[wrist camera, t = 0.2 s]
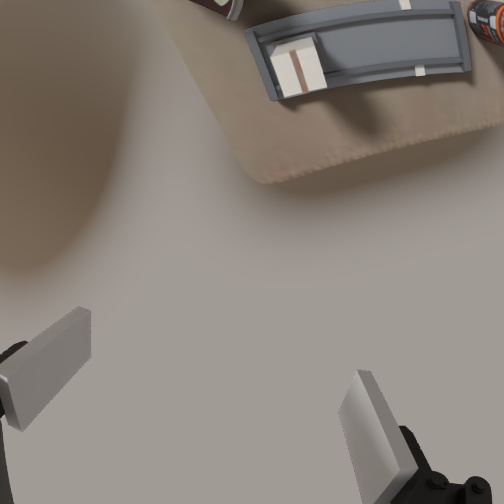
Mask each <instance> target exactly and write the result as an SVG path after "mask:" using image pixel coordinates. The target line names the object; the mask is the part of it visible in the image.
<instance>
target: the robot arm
mask: <svg viewBox="0 0 504 504" xmlns="http://www.w3.org/2000/svg"><path fill="white" fill-rule="evenodd" d="M90 358H91V311H90V310H88V309H85V308H82V307H79V306H78V307H77V308H75V309H74V310H72V311H71V312H70V313H68V314H67V315H66V316H64V317H63V318H61V319H60V320H59V321H57V322H56V323H54V324H53V325H51V326H50V327H49V328H47V329H46V330H45V331H43V332H42V333H41V334H39V335H38V336H37V337H35V338H34V339H32V340H31V341H30V342H27V341H22V342H19V343H16V344H14V345H12V346H11V347H10V348H8V350H6V351H4V352H3V353H2V355H1V354H0V418H1V417H2V416H3V415H4V414H5V416H6V419H7V422H8V424H9V425H10V426H12V427H13V428H15V429H17V430H18V431H20V432H23V431H24V430H25V429H26V428H27V426H28V425H29V424H30V423H31V422H32V421H33V420H34V419H35V417H36V416H37V415H38V414H39V413H40V412H41V411H42V410H43V408H44V407H45V406H46V405H47V404H48V403H49V402H50V401H51V400H52V399H53V397H54V396H55V395H56V394H57V393H58V392H59V391H60V390H61V389H62V388H63V386H64V385H65V384H66V383H67V382H68V381H69V380H70V379H71V378H72V377H73V376H74V375H75V374H76V373H77V371H78V370H79V369H80V368H81V367H82V366H83V365H84V364H85V363H86V362H87V361H88V360H89V359H90ZM338 414H339V418H340V421H341V425H342V428H343V432H344V435H345V439H346V442H347V446H348V450H349V453H350V457H351V461H352V464H353V468H354V472H355V476H356V479H357V483H358V486H359V491H360V495H361V499H362V502H363V504H492V494H491V487H490V485H489V483H488V482H487V481H486V480H485V479H483V478H481V477H478V476H473V477H470V478H469V479H468V480H467V481H466V482H465V483H464V484H463V485H462V484H454V483H449V481H448V479H447V478H446V477H445V476H444V475H443V474H441V473H439V472H436V471H432V470H431V468H430V466H429V464H428V462H427V460H426V458H425V456H424V454H423V452H422V450H421V449H420V446H419V444H418V443H417V440H416V438H415V436H414V435H413V433H412V432H411V431H410V430H409V429H408V428H407V427H406V426H398V425H397V422H396V421H395V418H394V416H393V414H392V412H391V410H390V408H389V406H388V404H387V402H386V400H385V398H384V397H383V394H382V392H381V391H380V389H379V387H378V385H377V383H376V381H375V379H374V377H373V375H372V373H371V372H370V371H363V370H356V373H355V375H354V377H353V380H352V382H351V384H350V387H349V389H348V391H347V394H346V396H345V398H344V400H343V403H342V405H341V407H340V409H339V411H338ZM0 504H14V502H13V497H12V493H11V488H10V483H9V478H8V472H7V465H6V459H5V451H4V443H3V433H2V424H1V421H0Z"/></svg>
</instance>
